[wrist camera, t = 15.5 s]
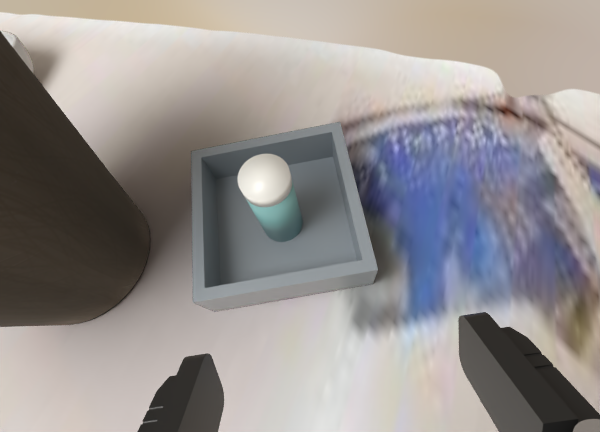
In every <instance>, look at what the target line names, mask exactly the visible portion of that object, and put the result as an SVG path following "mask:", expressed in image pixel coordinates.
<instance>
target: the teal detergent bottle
mask: <svg viewBox="0 0 600 432" xmlns="http://www.w3.org/2000/svg"><path fill="white" fill-rule="evenodd" d="M237 179H238V186H239V188H240V190H241V192H242V193H243V195H244V197H245V198H246V200H247V202H248V204H249V205H250V207H251V209H252V211H253V212H254V214H255V216H256V218H257V219H258V221H259V223H260V225H261V226H262V228H263V230H264V232H265V233H266V235H267V236H268V237H269V238H270V239H272V240H274V241H277V242H286V241H289V240H292V239H293V238H295V237H296V236H297V235H298V234H299V232H300V231H301V229H302V225H303V220H302V216H301V212H300V208H299V204H298V200H297V197H296V193H295V189H294V185H293V181H292V177H291V174H290V170H289V167H288V165H287V163H286V162H285V161H284V160H283V159H282V158H281V157H279V156H277V155H274V154H260V155H256V156H254V157H252V158H250V159H249V160H247V161H246V162H245V163H244V164H243V165H242V167H241V168H240V170H239V173H238V178H237Z"/></svg>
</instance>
